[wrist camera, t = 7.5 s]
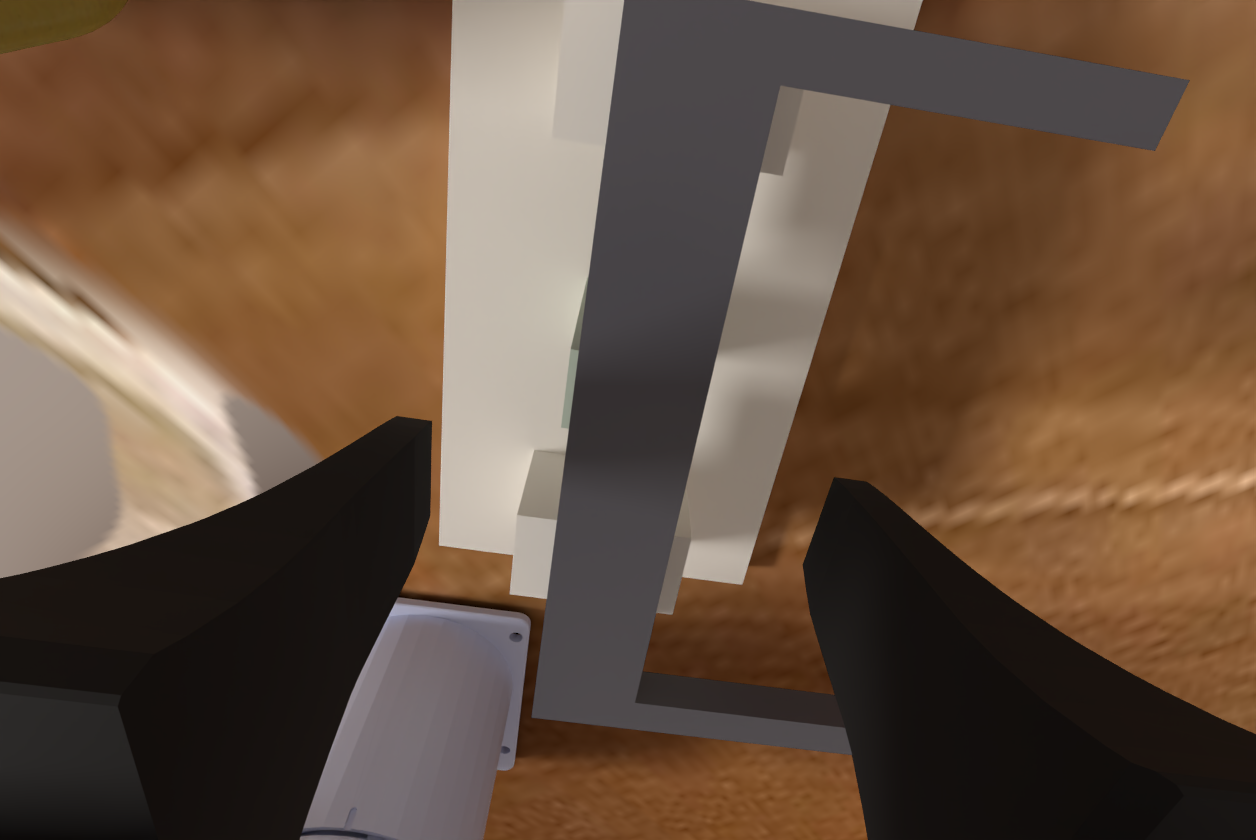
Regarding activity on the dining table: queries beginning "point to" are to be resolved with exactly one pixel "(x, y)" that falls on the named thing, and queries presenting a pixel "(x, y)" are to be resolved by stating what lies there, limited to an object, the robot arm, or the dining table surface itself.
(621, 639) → the grey c-shaped bracket
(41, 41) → the flower pot
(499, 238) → the stand
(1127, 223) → the dining table surface
